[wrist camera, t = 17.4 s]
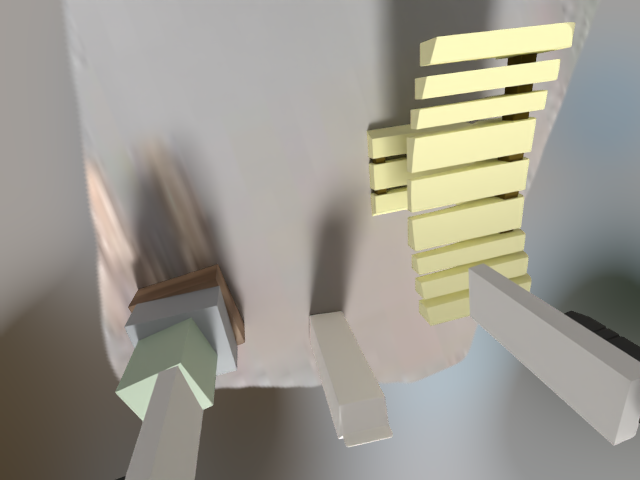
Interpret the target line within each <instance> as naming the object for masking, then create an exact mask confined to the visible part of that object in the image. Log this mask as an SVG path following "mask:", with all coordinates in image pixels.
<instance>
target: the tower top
mask: <svg viewBox="0 0 640 480" xmlns="http://www.w3.org/2000/svg"><path fill="white" fill-rule="evenodd" d="M189 318H192V319H193V320H194V322H195V323H196V325H197V326H198V328H199V329H200V331H201V332H202V333H203V335H204V336H205V338H206V339H207V341H208V342H209V344H210V345H211V346H212V348H213V349H214V351H215V352H216V354H217V355H218V359H217V369H216V376H217V375H221V374H224V373H228V372H232V371H236V370H237V343H236V340H235V336H234V333H233V329H232V326H231V323H230V319H229V316H228V313H227V309H226V306H225V303H224V299H223V296H222V292H221V289H220V286H216V287H211V288H207V289H202V290H198V291H193V292H189V293H184V294H180V295H175V296H171V297H166V298H162V299H157V300H153V301H148V302H144V303H139V304H136V306H135V308H134V310H133V312H132V314H131V315H130V317H129V319H128V321H127V323H126V325H125V329H126V332H127V334H128V336H129V338H130V340H131V342H132V344H133V347H134V349H135V347H136V345H137V343H138V341H139V340H141V339H143V338H146V337H148V336H150V335H153V334H155V333H157V332H159V331H162V330H164V329H166V328H168V327H171V326H173V325H175V324H177V323H180V322H182V321H184V320H186V319H189Z"/></svg>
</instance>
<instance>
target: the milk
mask: <svg viewBox="0 0 640 480" xmlns="http://www.w3.org/2000/svg"><path fill="white" fill-rule="evenodd" d="M309 320H310V345H311V348H312V351H313V355H314V358H315V361H316V365H317V368H318V372H319V375H320V378H321V382H322V385H323V388H324V392H325V395H326V398H327V402H328V405H329V409H330V412H331V416H332V419H333V422H334V426H335V429H336V432H337V435H338V439H341V438H344V441H345V444H346V446H347V447H352V446H356V445H361V444H365V443H369V442H373V441H377V440H382V439H386V438H391V437H392V436H393V433H392V431H391V429H390V427H389V424H388V416H387V409H386V402H385V396H384V394H383V392H382V390H381V388H380V386H379V384H378V382H377V380H376V378H375V376H374V374H373V372H372V370H371V368H370V366H369V364H368V362H367V360H366V358H365V356H364V354H363V352H362V350H361V348H360V346H359V344H358V342H357V340H356V338H355V336H354V334H353V332H352V330H351V328H350V326H349V324H348V322H347V320H346V318H345V316H344V314H343V312H342V311H338V312H331V313H323V314H316V315H310V316H309Z"/></svg>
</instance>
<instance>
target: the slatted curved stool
mask: <svg viewBox="0 0 640 480" xmlns="http://www.w3.org/2000/svg"><path fill="white" fill-rule="evenodd" d="M574 27H575V23H573V22H569V23H558V24H549V25H540V26H531V27H522V28H513V29H504V30H495V31H486V32H476V33H467V34H458V35H449V36H440V37H435V38H433V39H430V40H427V41H425V42H422V43H420V66H428V65H437V64H445V63H453V62H461V61H470V60H479V59H488V58H496V59H503V58H508V65H507V66H503V67H495V68H488V69H480V70H472V71H465V72H457V73H450V74H442V75H434V76H427V77H421V78H416V79H415V100H417V99H427V98H434V97H441V96H448V95H455V94H462V93H469V92H476V91H483V90H490V89H497V88H504V87H505V94H504V95H497V96H490V97H485V98H481V99H476V100H470V101H464V102H458V103H452V104H445V105H439V106H432V107H426V108H419V109H412V110H411V124H407V125H401V126H395V127H388V128H382V129H375V130H369V131H367V140H368V157H370V158H372V162H373V163H369V173H370V188H372V189H373V190H374V193H371V206H372V216H375V215H380V214H385V213H390V212H395V211H400V210H405V209H408V211H410V212H417V211H422V210H427V209H432V208H437V207H441V206H446V205H451V204H456V205H457V206H454V207H450V208H446V209H442V210H438V211H434V212H430V213H426V214H421V215H416V216H412V217H408V246H410V247H411V248H412V249H413V250H415V251H419V250H423V249H428V248H432V247H437V246H441V245H445V244H450V243H454V242H457V243H455V244H451V245H448V246H445V247H441V248H437V249H434V250H430V251H426V252H422V253H417V254H413V255H412V269H413V270H415V271H416V272H417V273H418V274H419V275H422V274H426V273H430V272H434V271H438V270H443V269H446V270H443V271H440V272H436V273H432V274H429V275H425V276H421V277H417V278H415V290H416V291H417V293H418V294H419V295H420V296H421V297H422V298H423V300H419V313H420V314H421V315H422V316H423V318H424V319H425V320H426V321H427V322H428V323H429V324H430V326H433V325H436V324H440V323H444V322H448V321H451V320H455V319H459V318H462V317H466V316H470V304H469V268H471V267H474V266H477V265H480V264H483V263H484V264H486V265H487V266H489V267H490V268H492V269H494V270H495V271H497V272H498V273H500V274H501V275H503V276H505V277H506V278H508V279H509V280H511V281H513V282H514V283H516V284H517V285H519V286H520V287H522V288H524V289H525V290H527V291H528V292H530V287H531V278H530V276H529V275H528V274H527V273H526V272H527V266H528V255H527V254H526V253H525V252H524V251H523V250H524V243H525V233H524V232H523V231H522V230H521V229H519V228H521V221H522V214H523V205H524V196H523V195H521V194H519V193H518V192H519V191H520V190H525V186H526V178H527V171H528V165H529V159H528V158H525V157H523V154H524V153H525V152H530V151H531V147H532V142H533V136H534V130H535V123H536V118H534V117H529V111H535V110H542V109H544V108H545V103H546V98H547V90H539V91H532V87H533V83H539V82H546V81H553V80H557V76H558V72H559V66H560V59H556V60H549V61H541V62H536V57H537V54H538V53H543V52H549V51H554V50H559V49H564V48H568V47H571V45H572V39H573V33H574ZM498 116H502V117H501V118H494V119H488V120H482V121H476V122H475V123H474V124H471V123H467V122H466V121H473V120H479V119H485V118H491V117H498ZM406 153H407V157H403V158H397V159H392V160H386V161H385V157H387V156H393V155H400V154H406ZM403 185H407V187H403V188H398V189H392V190H387V188H391V187H397V186H403ZM459 241H460V242H459ZM455 266H456V267H455ZM451 267H453V268H451ZM447 268H450V269H447Z"/></svg>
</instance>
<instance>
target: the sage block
mask: <svg viewBox="0 0 640 480" xmlns="http://www.w3.org/2000/svg"><path fill="white" fill-rule="evenodd" d="M217 359H218V355H217V354H216V352H215V351H214V349H213V348H212V346H211V345H210V344H209V342H208V341H207V339H206V338H205V336H204V335H203V333H202V332H201V331H200V329H199V328H198V326H197V325H196V323H195V322H194V320H193V319H192V318H189V319H186V320H184V321H182V322H180V323H177V324H175V325H173V326H171V327H168V328H166V329H164V330H162V331H159V332H157V333H155V334H153V335H150V336H148V337H146V338H143V339H141V340H139V341H138V343H137V345H136V347H135V349H134V352H133V354H132V356H131V358H130V360H129V363H128V365H127V367H126V369H125V372H124V374H123V376H122V378H121V381H120V383H119V385H118V387H117V390H116V394H117V395H118V396H119V397H120V398H121V399H122V400H123V401H124V402H125V403H126V404H127V405H128V406H129V407H130V408H131V409H132V410H133V411H134V412H135V413H136V414H137V416H139V418H140V419H141V420H142V421H143V420H144V417H145V414H146V411H147V408H148V405H149V401H150V398H151V395H152V392H153V389H154V386H155V382H156V379H157V376H158V373H159V372H161V371H164V370H167V369H170V368H173V367H176V366H178V367H179V369H180V370H181V372H182V374H183V376H184V378H185V379H186V381H187V383H188V385H189V386H190V388H191V390H192V392H193V393H194V395H195V397H196V399H197V401H198V402H199V404H200V406H201V408H202V409H203V410H204V409H206V408H208V407H210V406H212V405H213V401H214V391H215V380H216V369H217Z"/></svg>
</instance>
